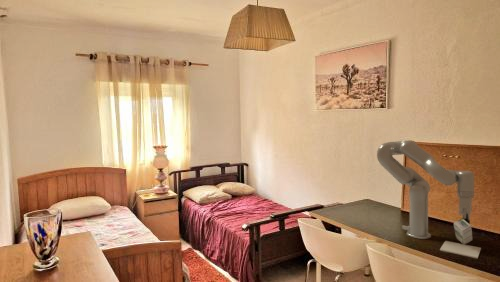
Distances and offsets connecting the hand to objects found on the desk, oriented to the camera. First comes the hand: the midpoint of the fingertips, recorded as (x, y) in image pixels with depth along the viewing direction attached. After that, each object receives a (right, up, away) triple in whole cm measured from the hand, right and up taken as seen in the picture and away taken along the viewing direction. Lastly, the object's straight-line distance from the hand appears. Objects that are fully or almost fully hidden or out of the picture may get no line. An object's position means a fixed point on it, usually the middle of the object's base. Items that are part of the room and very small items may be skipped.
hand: (466, 227), depth 172 cm
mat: (-8, -10, -7) cm, 15 cm away
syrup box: (-1, -7, +1) cm, 7 cm away
